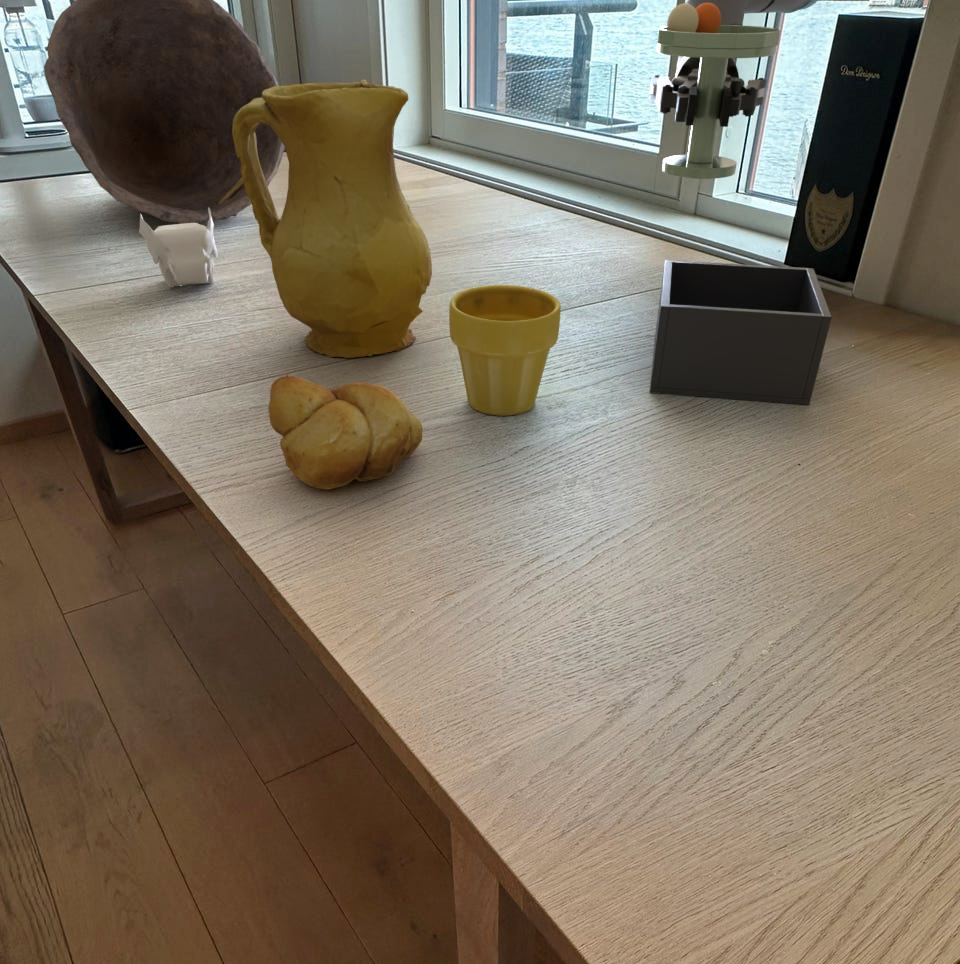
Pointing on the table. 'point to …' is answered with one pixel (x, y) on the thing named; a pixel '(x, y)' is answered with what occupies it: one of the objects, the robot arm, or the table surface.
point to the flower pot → (503, 344)
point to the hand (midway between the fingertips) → (708, 110)
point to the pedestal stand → (711, 89)
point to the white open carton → (182, 251)
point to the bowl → (160, 102)
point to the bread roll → (341, 430)
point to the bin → (739, 332)
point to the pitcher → (338, 215)
